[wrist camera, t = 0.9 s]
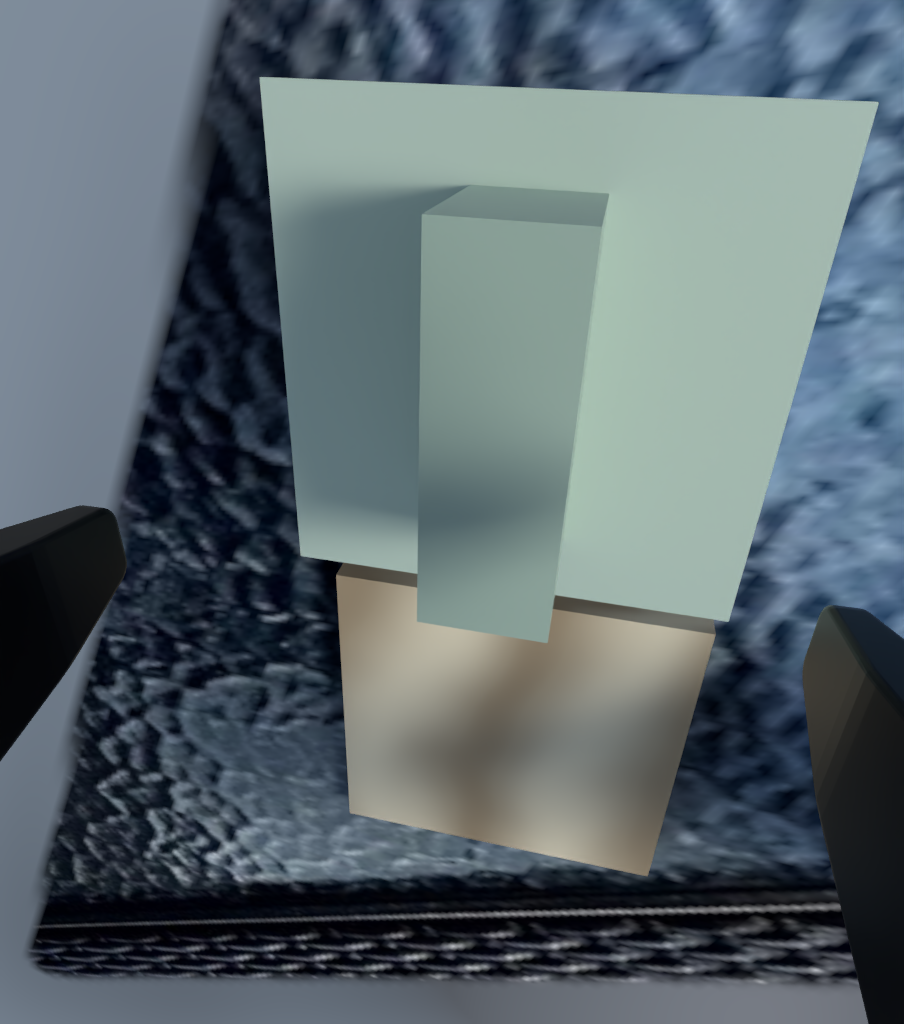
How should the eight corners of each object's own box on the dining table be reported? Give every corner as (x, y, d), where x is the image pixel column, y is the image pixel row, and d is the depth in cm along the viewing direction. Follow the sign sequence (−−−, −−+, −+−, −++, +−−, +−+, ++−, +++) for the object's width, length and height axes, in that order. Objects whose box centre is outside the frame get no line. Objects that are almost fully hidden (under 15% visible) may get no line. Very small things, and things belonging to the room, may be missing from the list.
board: (712, 618, 23) (715, 634, 22) (647, 857, 29) (647, 876, 28) (344, 561, 25) (336, 574, 24) (355, 796, 31) (349, 812, 30)
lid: (848, 100, 13) (968, 107, 8) (720, 575, 18) (749, 741, 13) (299, 78, 14) (145, 73, 10) (327, 519, 19) (234, 649, 15)
